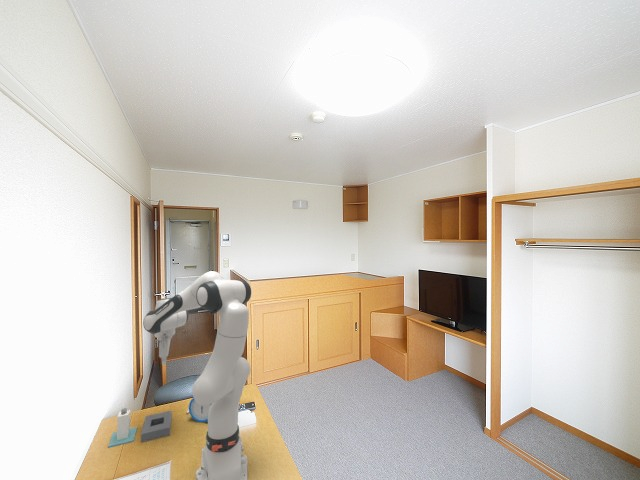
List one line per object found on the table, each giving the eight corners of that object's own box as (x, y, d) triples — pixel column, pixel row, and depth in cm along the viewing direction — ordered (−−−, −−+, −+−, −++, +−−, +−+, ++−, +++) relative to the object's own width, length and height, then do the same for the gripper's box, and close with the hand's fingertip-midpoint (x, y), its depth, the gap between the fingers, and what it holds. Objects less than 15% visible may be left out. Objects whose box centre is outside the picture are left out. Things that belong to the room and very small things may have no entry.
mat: (133, 442, 120) (133, 440, 120) (107, 449, 116) (107, 446, 116) (137, 428, 129) (137, 426, 129) (113, 434, 125) (113, 432, 125)
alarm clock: (188, 422, 134) (188, 390, 135) (195, 414, 140) (195, 384, 141) (213, 424, 133) (214, 392, 133) (219, 416, 139) (220, 386, 139)
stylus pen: (189, 415, 139) (189, 411, 140) (184, 415, 140) (184, 411, 140) (204, 400, 154) (204, 397, 154) (199, 400, 155) (199, 397, 155)
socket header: (169, 436, 124) (169, 427, 124) (140, 443, 119) (140, 434, 120) (171, 418, 137) (171, 410, 137) (145, 424, 132) (145, 416, 132)
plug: (127, 437, 122) (128, 410, 122) (116, 440, 120) (117, 413, 120) (129, 432, 125) (130, 406, 125) (119, 434, 124) (119, 408, 124)
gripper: (171, 336, 127) (171, 367, 127) (173, 325, 146) (172, 352, 145) (155, 338, 125) (155, 370, 124) (159, 327, 143) (159, 354, 143)
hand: (164, 360), depth 135 cm, fingers open, 8 cm apart
